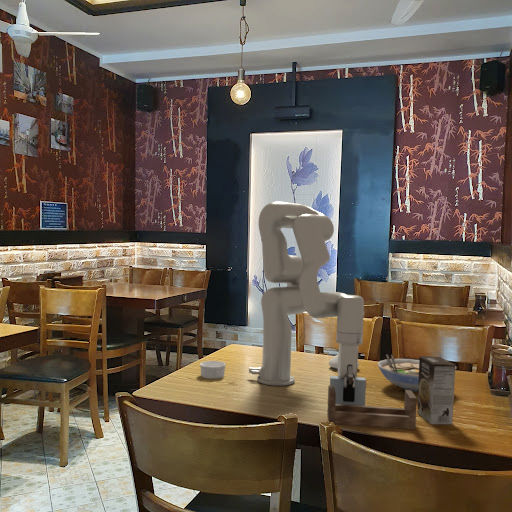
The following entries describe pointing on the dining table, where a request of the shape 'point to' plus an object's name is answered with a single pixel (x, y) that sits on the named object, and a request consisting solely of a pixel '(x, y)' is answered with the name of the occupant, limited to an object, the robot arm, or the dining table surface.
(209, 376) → the ramekin
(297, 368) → the dining table surface
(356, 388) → the light grey rectangular block
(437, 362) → the coffee box
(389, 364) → the ramen bowl
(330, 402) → the frame
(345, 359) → the robot arm
